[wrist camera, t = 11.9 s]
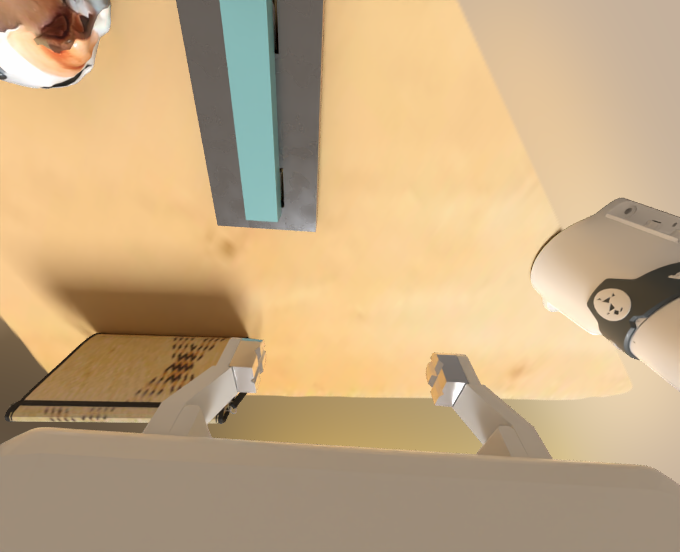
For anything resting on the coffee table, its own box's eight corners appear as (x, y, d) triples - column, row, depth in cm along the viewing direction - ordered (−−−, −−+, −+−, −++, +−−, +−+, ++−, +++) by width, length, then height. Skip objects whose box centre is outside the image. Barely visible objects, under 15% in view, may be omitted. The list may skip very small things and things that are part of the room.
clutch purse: (103, 355, 48) (20, 442, 35) (86, 327, 44) (-14, 414, 31) (264, 359, 49) (241, 444, 37) (261, 333, 46) (234, 417, 33)
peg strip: (276, -18, 22) (263, -49, 18) (284, 208, 33) (277, 222, 29) (235, -24, 22) (212, -56, 18) (257, 206, 33) (245, 220, 28)
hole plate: (326, -45, 22) (325, -65, 19) (316, 223, 35) (315, 231, 32) (180, -65, 21) (159, -89, 18) (226, 217, 34) (217, 225, 31)
